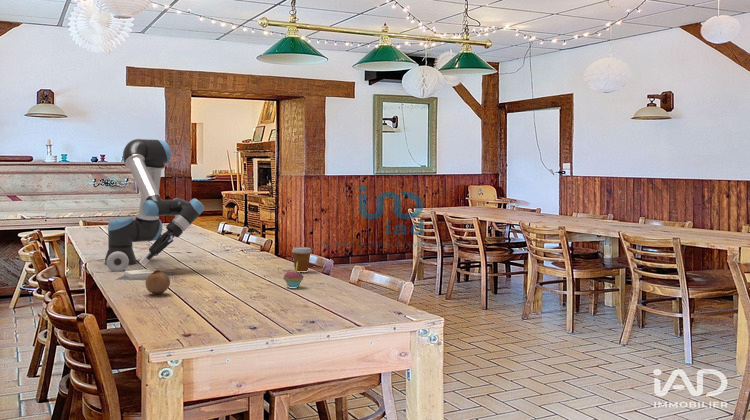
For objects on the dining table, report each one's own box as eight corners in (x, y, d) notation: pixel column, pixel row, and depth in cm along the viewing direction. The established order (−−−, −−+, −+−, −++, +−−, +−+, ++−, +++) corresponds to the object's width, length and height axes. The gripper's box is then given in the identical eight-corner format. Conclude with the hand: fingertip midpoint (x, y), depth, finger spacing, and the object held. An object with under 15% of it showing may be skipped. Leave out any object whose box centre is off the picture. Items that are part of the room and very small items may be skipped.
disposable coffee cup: (288, 272, 338) (288, 248, 337) (297, 270, 346) (297, 246, 346) (305, 274, 334) (305, 249, 333) (314, 271, 343) (314, 247, 342)
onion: (156, 297, 270) (156, 272, 269) (140, 295, 275) (140, 270, 274) (175, 294, 278) (175, 269, 277) (159, 291, 283) (159, 267, 282)
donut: (128, 271, 331) (128, 250, 330) (129, 272, 328) (129, 251, 327) (106, 272, 327) (106, 251, 326) (106, 273, 324) (106, 252, 323)
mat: (131, 272, 327) (131, 271, 326) (174, 273, 327) (174, 272, 327) (115, 280, 305) (115, 279, 305) (161, 281, 305) (161, 280, 305)
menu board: (148, 269, 322) (124, 270, 315) (155, 272, 314) (131, 274, 307) (148, 273, 322) (124, 275, 316) (155, 276, 314) (131, 278, 308)
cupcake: (306, 287, 301) (306, 259, 300) (297, 290, 293) (298, 262, 292) (288, 285, 304) (288, 258, 303) (279, 288, 296) (280, 260, 295)
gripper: (167, 219, 327) (131, 256, 318) (177, 222, 317) (140, 260, 308) (177, 230, 331) (142, 267, 322) (188, 233, 320) (152, 271, 311)
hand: (141, 264), depth 315 cm, fingers closed
